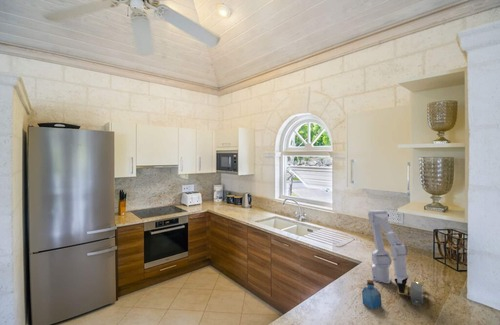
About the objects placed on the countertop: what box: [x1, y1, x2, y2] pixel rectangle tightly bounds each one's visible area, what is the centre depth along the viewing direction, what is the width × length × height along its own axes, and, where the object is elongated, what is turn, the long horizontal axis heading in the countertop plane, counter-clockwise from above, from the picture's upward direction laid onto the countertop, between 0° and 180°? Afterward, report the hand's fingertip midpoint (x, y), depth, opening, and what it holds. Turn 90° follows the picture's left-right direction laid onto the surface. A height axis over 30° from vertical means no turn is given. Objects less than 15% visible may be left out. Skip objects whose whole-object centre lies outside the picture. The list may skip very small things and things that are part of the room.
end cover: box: [396, 284, 411, 297], centre depth 130 cm, size 9×5×5 cm, turn 52°
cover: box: [414, 280, 426, 294], centre depth 135 cm, size 5×5×4 cm
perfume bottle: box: [361, 279, 382, 310], centre depth 124 cm, size 6×6×12 cm
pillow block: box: [409, 281, 424, 307], centre depth 127 cm, size 5×16×6 cm, turn 142°
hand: (402, 291), depth 131 cm, fingers closed on end cover, 3 cm apart
